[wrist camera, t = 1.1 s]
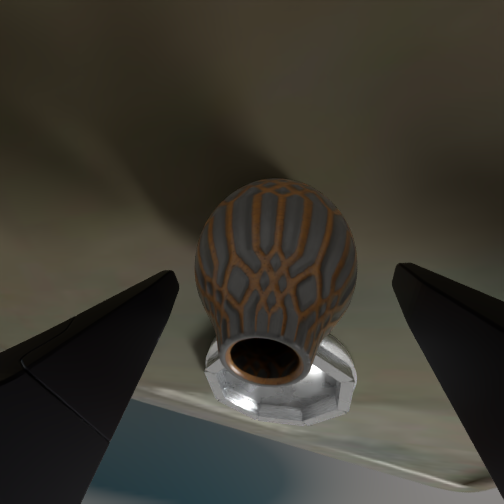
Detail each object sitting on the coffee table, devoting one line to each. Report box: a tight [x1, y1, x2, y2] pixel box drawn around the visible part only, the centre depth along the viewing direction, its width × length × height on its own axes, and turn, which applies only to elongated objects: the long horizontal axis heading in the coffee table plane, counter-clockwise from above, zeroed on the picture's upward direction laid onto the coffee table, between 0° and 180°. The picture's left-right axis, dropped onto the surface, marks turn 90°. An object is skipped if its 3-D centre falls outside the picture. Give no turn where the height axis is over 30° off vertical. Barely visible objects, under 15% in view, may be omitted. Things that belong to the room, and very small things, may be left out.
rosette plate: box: [204, 334, 357, 426], centre depth 19 cm, size 14×14×2 cm
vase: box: [195, 178, 357, 388], centre depth 9 cm, size 7×7×9 cm
